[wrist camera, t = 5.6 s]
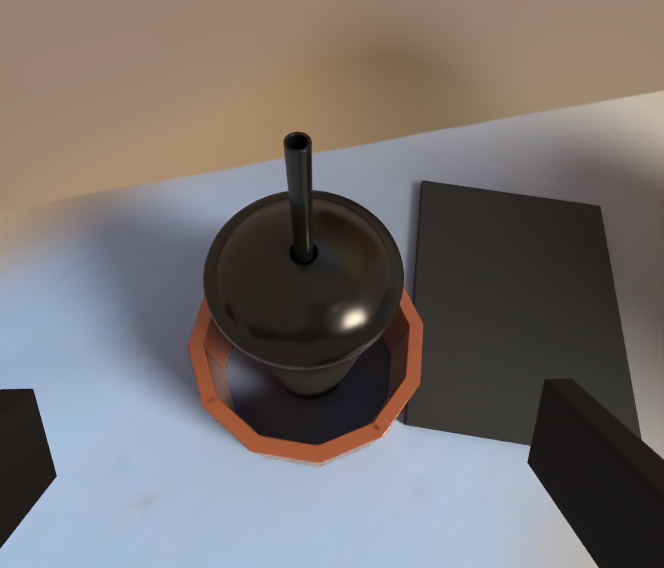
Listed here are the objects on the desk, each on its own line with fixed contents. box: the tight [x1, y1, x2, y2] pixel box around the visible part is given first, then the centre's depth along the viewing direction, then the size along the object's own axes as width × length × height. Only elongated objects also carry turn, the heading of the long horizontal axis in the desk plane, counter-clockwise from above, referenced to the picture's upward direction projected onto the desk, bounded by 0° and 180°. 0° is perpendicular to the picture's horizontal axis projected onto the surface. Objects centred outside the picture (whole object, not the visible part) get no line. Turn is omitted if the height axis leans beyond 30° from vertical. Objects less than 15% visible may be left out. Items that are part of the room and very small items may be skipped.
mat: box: [404, 181, 642, 446], centre depth 30 cm, size 15×20×1 cm
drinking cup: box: [203, 132, 404, 399], centre depth 19 cm, size 8×8×20 cm
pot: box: [188, 288, 423, 467], centre depth 25 cm, size 13×13×6 cm
